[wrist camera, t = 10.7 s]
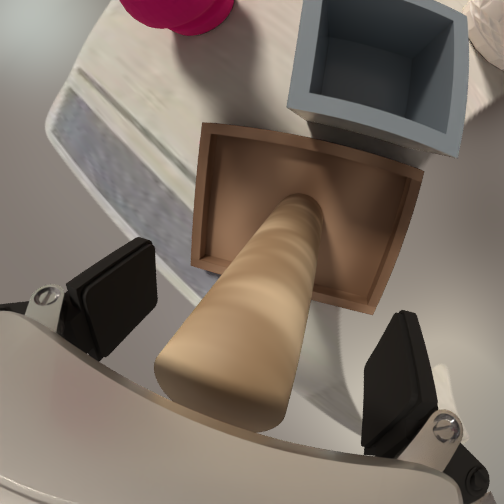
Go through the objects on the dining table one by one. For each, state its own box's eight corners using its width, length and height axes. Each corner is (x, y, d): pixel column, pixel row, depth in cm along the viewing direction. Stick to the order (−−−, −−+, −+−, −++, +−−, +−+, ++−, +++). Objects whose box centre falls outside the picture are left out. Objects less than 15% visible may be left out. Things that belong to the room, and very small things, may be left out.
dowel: (328, 199, 19) (304, 378, 5) (317, 244, 21) (269, 443, 7) (280, 188, 20) (147, 325, 6) (272, 233, 21) (160, 404, 7)
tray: (416, 168, 16) (424, 171, 15) (371, 303, 22) (372, 315, 20) (212, 123, 20) (202, 122, 18) (199, 256, 25) (190, 265, 23)
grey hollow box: (418, 57, 13) (466, 16, 5) (406, 147, 16) (457, 158, 8) (320, 31, 14) (307, -32, 6) (306, 120, 18) (286, 107, 10)
